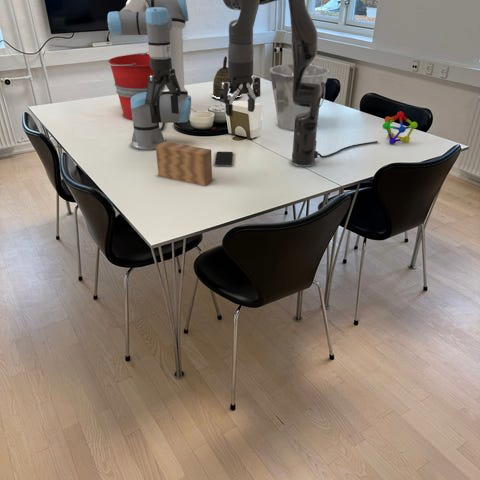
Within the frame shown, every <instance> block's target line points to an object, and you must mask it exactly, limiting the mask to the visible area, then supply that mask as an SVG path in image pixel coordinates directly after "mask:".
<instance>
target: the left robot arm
mask: <svg viewBox="0 0 480 480" xmlns="http://www.w3.org/2000/svg"><path fill="white" fill-rule="evenodd" d="M189 20H190V19H189V11H188V6H187V0H127V1H126V3H125V6H124V7H123V8H122V9H121V10H120V11H117V10H115V11H109V12H108V13H107V27H108V31H109V33H110V34H111V35H113V36H119V37H121V36H147V41H148V42H147V44H148V45H147V46H148V52H149V53H148V54H149V56H150V57H151V58H150V67H151V69H152V70H153V71H154V75H148V87H147V92H143V93H139V94H136V95H134V96H133V97H132V98H131V110H132V118H133V120H132V125H133V132H132V135H131V147H132V148H134V149H135V150H141V151H151V150H153V151H154V150H156V146H157V145H159V144H160V143H162V142H164V141H165V142H166V140H165V137H164V135H163V132H162V131H163V130H164V127H165V124H177V123H178V124H180V123H187V122H189V120H190V118H191V111H192V110H191V109H192V96H191V95H189V91H188V90H187V89H186V88H185V71H184V70H185V68H184V45H183V41H184V40H183V30H184V29H185V28H186V22H189ZM156 83H157V84H156ZM164 85H165V88H164V89H163V90H162V96H159V93H160V89H161V88H162V87H163V86H164ZM161 123H162V126H161V127H160V124H161Z"/></svg>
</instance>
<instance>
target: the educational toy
mask: <svg viewBox="0 0 480 480" xmlns="http://www.w3.org/2000/svg"><path fill="white" fill-rule="evenodd" d="M397 119H399V124H400V125H399V127H398V126H393V125H391V124H392V123H394V122H395V121H396V120H397ZM403 120H404V121H405V122H407V123H408V124H409V125H407V126H404V123H403ZM417 127H418V122H417V121H411V120H410V119H409V118H408V117H406V116H405V113H404V112H403V111H401V110H400V111H398V112H397V114H396V115H394V116H391V117H390V116H386V117H385V118H384V122H383V123H382V129H383V130H386V132H387V138H388V142H389V145H395V144H396V143H397V142H402V141H403V142H404V143H409V142H410V140H411V138H410V136H411V134H412V132H413V131H414V130H415V129H417ZM392 129H393V130H397V131H398V132H396V134H395V133H394V132H392ZM408 129H409V131H408V133H407V134H406V135H404V136H401V134H403V133H405V132H406V130H408ZM399 135H400V136H399Z"/></svg>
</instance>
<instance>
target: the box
mask: <svg viewBox="0 0 480 480" xmlns="http://www.w3.org/2000/svg"><path fill="white" fill-rule="evenodd" d="M155 153H156V162H157V163H156V164H157V175H158V177H161V178H165V179H166V178H167V179H171V180H175V181H181V182H186V183H190V184H196V185H200V186H207V185H208V184H209V183H211V181H213V165H212V164H213V161H212V160H213V159H212V149H210V148H205V147H199V146H193V145H187V144H181V143H175V142H170V141H166V140H165V141H164V142H162V143H160V144H159V145H157V146H156V149H155Z"/></svg>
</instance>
